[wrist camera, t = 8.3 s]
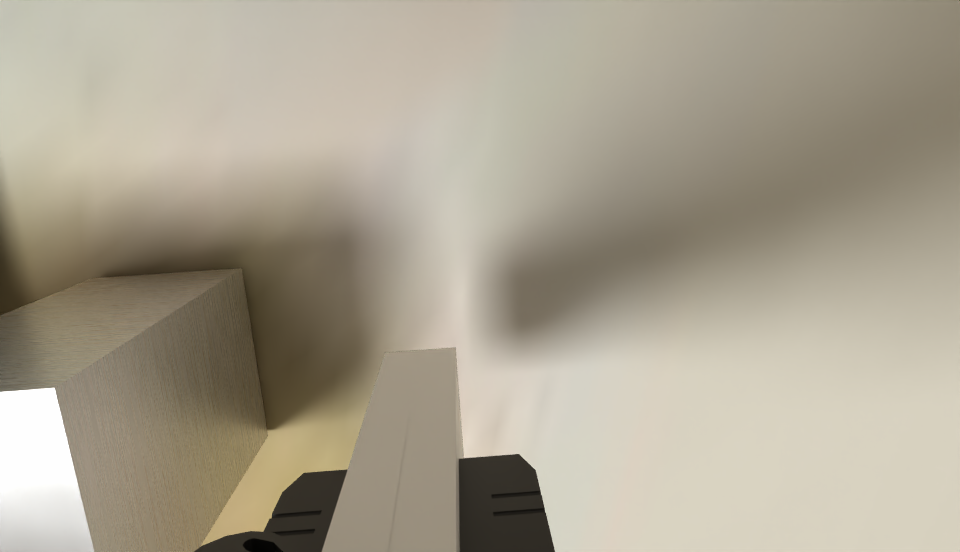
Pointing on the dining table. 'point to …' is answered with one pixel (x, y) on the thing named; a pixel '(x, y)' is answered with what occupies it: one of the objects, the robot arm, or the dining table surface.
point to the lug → (126, 413)
